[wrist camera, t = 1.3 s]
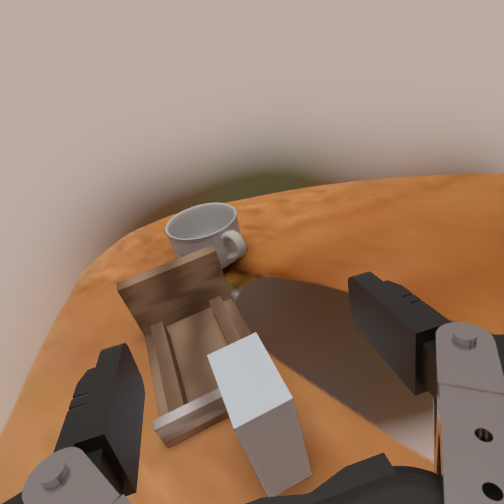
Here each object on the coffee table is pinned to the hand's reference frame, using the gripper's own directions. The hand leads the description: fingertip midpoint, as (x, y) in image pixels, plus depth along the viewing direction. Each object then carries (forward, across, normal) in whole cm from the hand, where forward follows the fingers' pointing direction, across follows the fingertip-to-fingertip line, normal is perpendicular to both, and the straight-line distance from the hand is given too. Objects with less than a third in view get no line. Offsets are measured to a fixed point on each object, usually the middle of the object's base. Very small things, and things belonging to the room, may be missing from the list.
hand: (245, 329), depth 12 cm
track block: (+23, +4, +19) cm, 30 cm away
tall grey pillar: (+10, 0, +21) cm, 24 cm away
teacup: (+39, -1, +16) cm, 42 cm away
